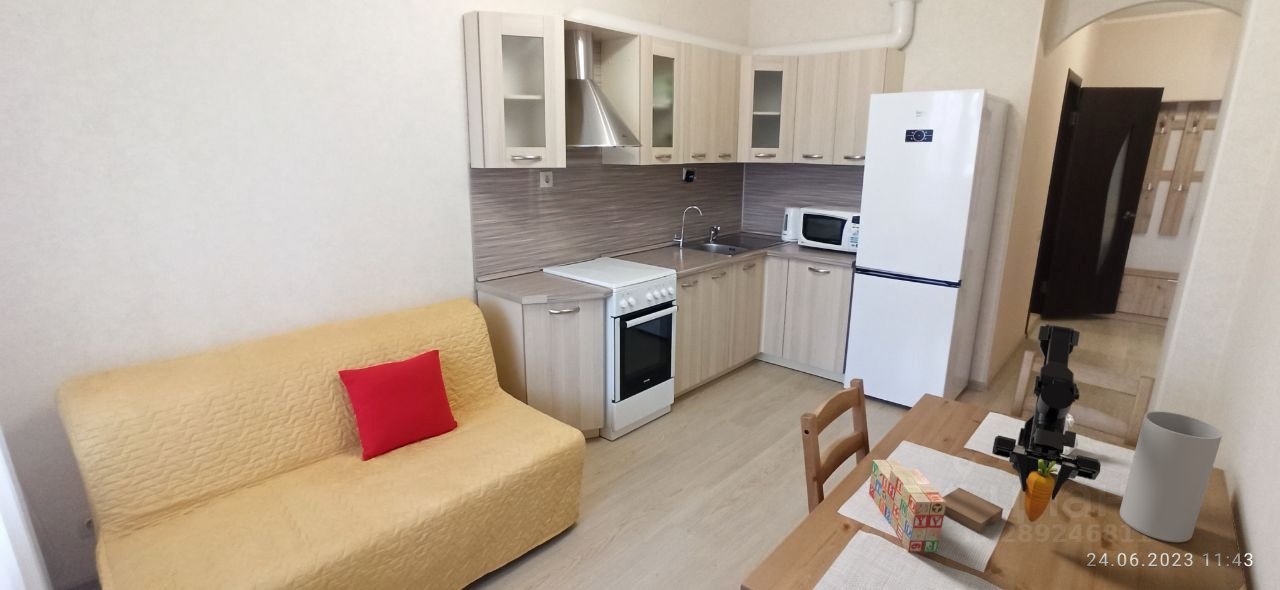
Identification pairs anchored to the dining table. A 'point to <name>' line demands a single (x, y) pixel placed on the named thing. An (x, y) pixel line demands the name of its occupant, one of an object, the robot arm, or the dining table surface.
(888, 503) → the stack of blocks
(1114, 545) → the dining table surface
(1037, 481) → the carrot
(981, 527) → the walnut plinth
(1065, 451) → the bust
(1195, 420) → the cylinder vase
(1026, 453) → the robot arm
